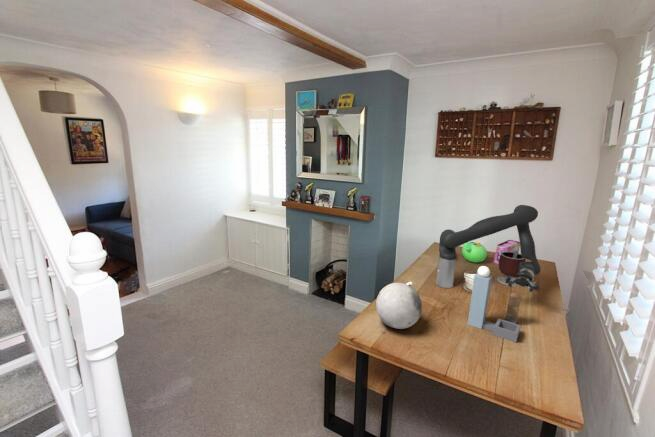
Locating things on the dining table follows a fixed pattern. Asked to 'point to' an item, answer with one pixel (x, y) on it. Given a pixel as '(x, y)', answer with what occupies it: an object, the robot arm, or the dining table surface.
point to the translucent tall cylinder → (513, 308)
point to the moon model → (398, 305)
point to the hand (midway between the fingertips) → (520, 287)
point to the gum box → (506, 248)
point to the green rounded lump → (474, 252)
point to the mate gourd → (509, 265)
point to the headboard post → (480, 308)
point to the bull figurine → (410, 284)
